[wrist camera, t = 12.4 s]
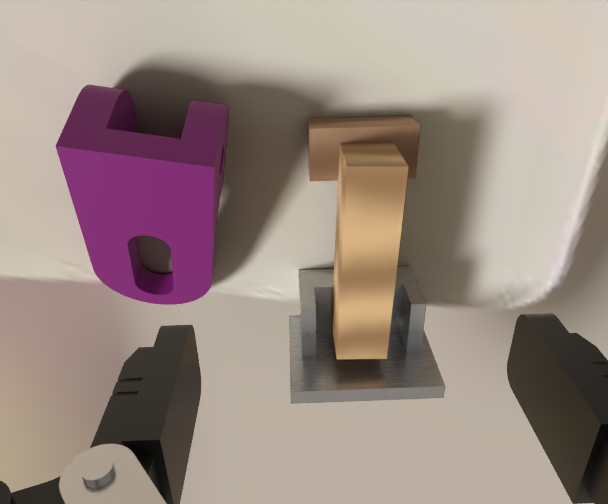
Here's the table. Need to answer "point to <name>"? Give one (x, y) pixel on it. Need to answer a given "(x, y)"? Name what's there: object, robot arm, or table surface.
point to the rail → (367, 247)
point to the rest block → (358, 140)
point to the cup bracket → (360, 372)
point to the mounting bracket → (145, 192)
